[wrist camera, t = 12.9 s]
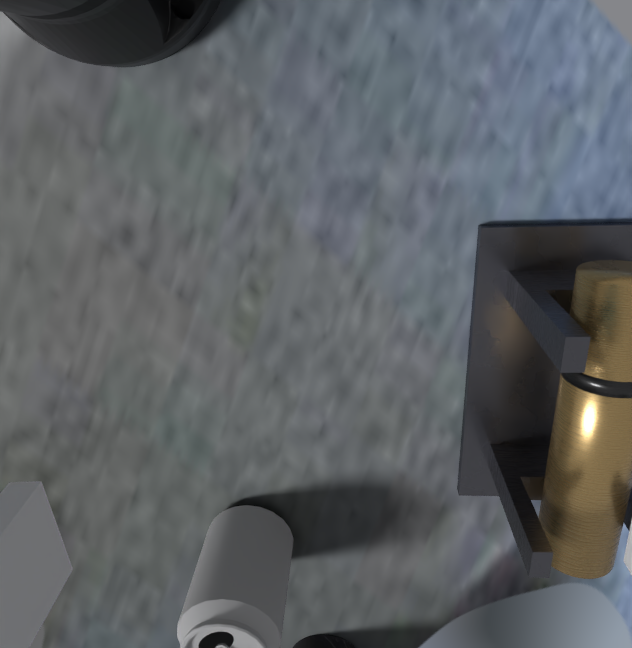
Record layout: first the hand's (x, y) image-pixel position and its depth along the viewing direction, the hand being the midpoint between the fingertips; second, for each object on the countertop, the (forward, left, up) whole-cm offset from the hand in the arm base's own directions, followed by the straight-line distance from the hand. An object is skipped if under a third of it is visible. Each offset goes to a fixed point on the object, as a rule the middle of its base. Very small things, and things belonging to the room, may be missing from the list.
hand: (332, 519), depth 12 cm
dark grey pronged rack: (+11, +16, -28) cm, 34 cm away
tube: (+11, +16, -23) cm, 30 cm away
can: (+27, -8, -28) cm, 40 cm away
